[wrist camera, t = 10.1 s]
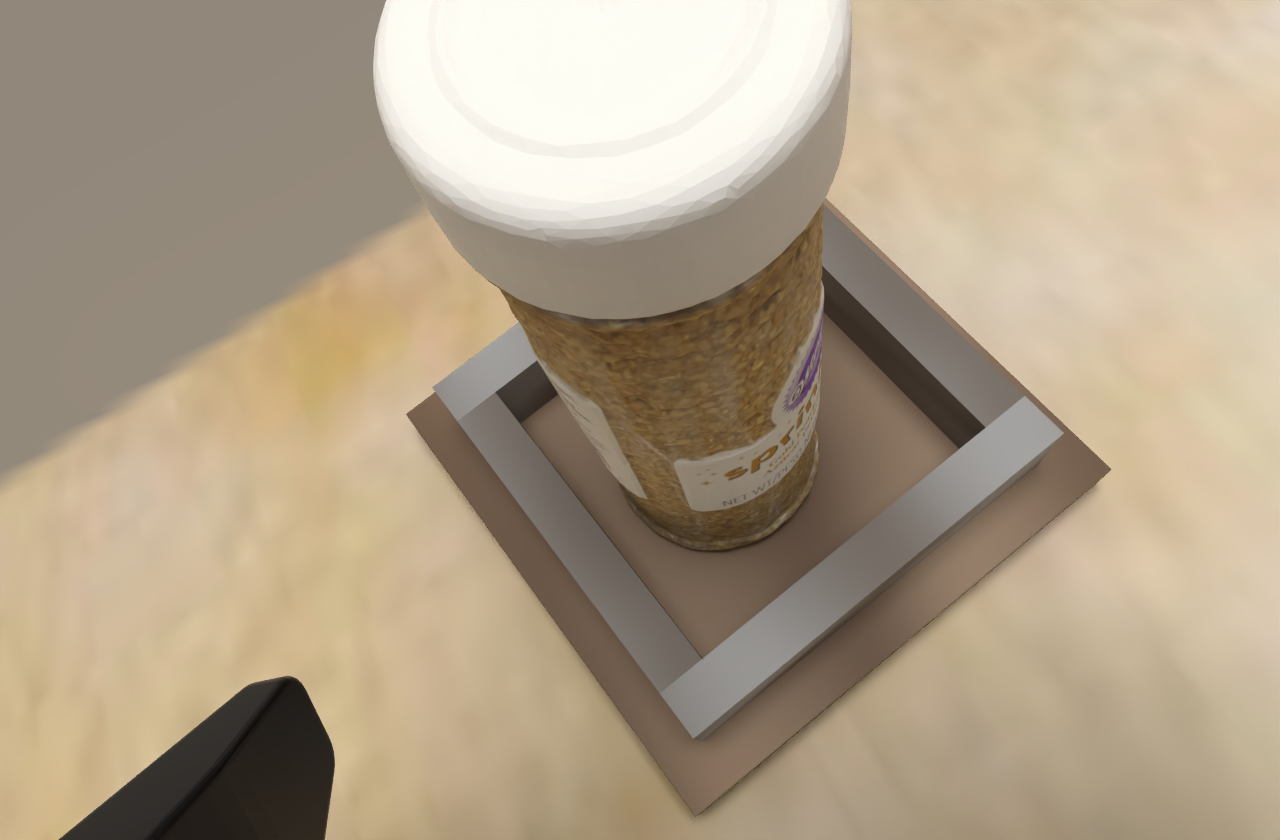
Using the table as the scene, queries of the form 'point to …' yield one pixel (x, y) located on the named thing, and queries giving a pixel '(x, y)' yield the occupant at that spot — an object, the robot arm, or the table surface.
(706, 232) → the sprinkles bottle
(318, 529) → the table surface
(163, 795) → the robot arm
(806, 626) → the socket board
